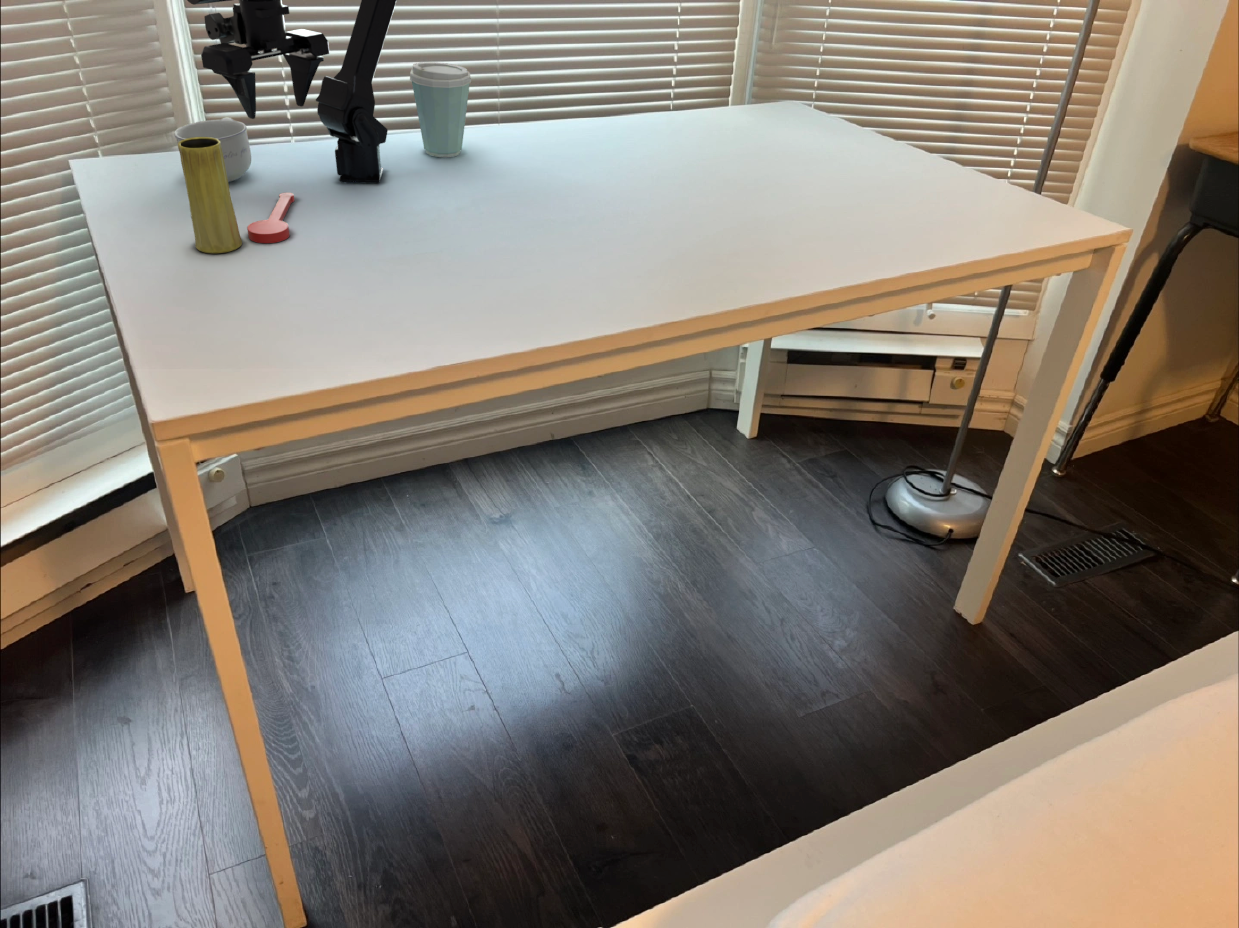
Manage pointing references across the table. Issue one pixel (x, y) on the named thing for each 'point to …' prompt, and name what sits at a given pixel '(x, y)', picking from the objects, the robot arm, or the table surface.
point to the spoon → (272, 223)
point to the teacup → (223, 142)
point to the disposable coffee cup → (441, 105)
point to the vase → (209, 195)
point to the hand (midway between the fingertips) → (276, 111)
